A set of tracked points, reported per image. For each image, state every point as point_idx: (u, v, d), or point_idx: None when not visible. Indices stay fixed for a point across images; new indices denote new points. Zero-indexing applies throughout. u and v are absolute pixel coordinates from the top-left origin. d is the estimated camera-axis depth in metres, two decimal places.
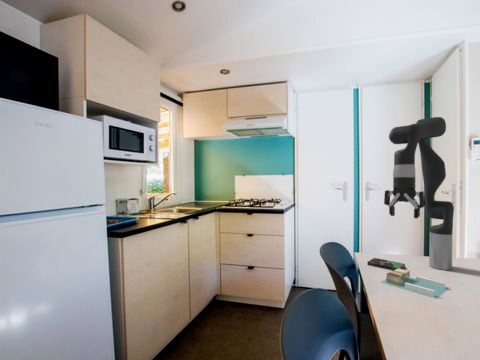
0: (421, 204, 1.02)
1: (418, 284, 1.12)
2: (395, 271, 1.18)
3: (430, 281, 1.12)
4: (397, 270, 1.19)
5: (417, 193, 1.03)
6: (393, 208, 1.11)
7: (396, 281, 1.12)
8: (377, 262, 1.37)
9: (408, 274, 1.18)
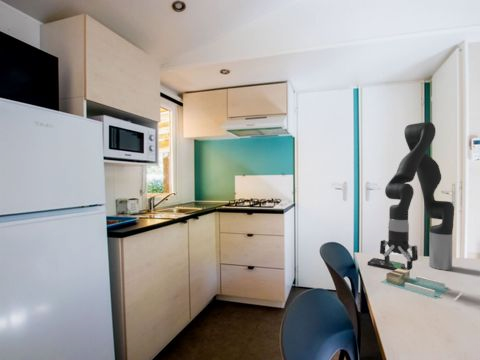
0: (413, 258, 1.11)
1: (418, 284, 1.12)
2: (395, 271, 1.18)
3: (430, 281, 1.12)
4: (397, 270, 1.19)
5: (410, 247, 1.12)
6: (388, 257, 1.20)
7: (396, 281, 1.12)
8: (377, 262, 1.36)
9: (408, 274, 1.18)
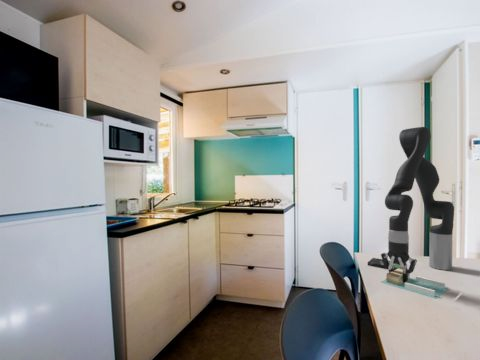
0: (409, 270, 1.12)
1: (418, 284, 1.12)
2: (395, 271, 1.18)
3: (430, 281, 1.12)
4: (397, 270, 1.19)
5: (410, 259, 1.13)
6: None
7: (396, 281, 1.12)
8: (377, 262, 1.36)
9: (408, 274, 1.18)
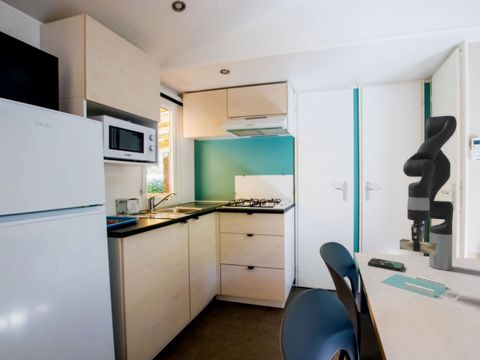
0: (412, 238, 1.08)
1: (418, 284, 1.12)
2: None
3: (430, 281, 1.12)
4: (425, 242, 1.10)
5: None
6: None
7: None
8: (377, 262, 1.36)
9: (431, 248, 1.06)
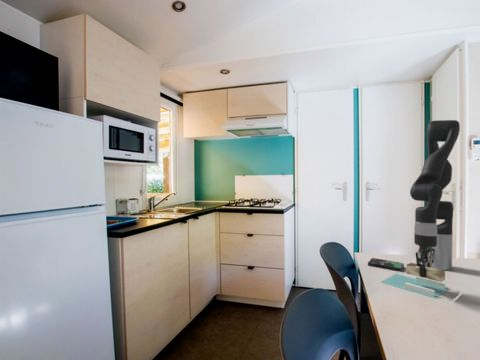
0: None
1: (418, 284, 1.12)
2: (427, 267, 1.09)
3: (430, 281, 1.12)
4: (433, 268, 1.08)
5: None
6: None
7: None
8: (377, 262, 1.36)
9: (437, 275, 1.03)
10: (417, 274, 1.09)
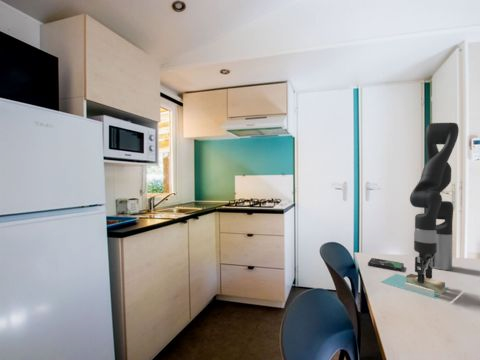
0: None
1: None
2: (427, 278, 1.09)
3: None
4: (432, 280, 1.08)
5: None
6: (428, 270, 1.11)
7: None
8: (377, 262, 1.36)
9: (437, 287, 1.04)
10: (417, 285, 1.09)
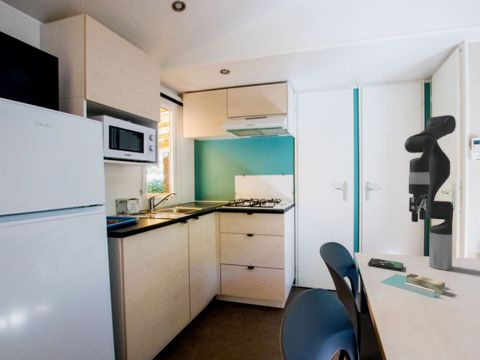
0: None
1: None
2: (427, 278, 1.09)
3: None
4: (432, 280, 1.08)
5: None
6: (422, 212, 1.18)
7: None
8: (377, 262, 1.36)
9: (437, 287, 1.04)
10: (417, 285, 1.09)
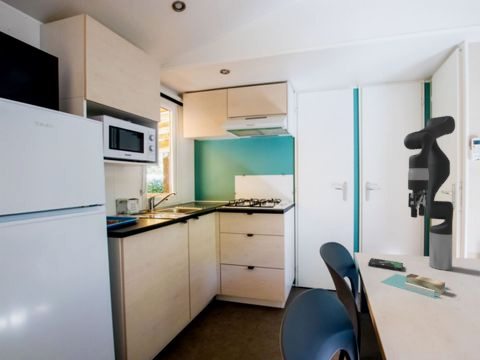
0: None
1: None
2: (427, 278, 1.09)
3: None
4: (432, 280, 1.08)
5: None
6: (421, 208, 1.19)
7: None
8: (377, 262, 1.36)
9: (437, 287, 1.04)
10: (417, 285, 1.09)
